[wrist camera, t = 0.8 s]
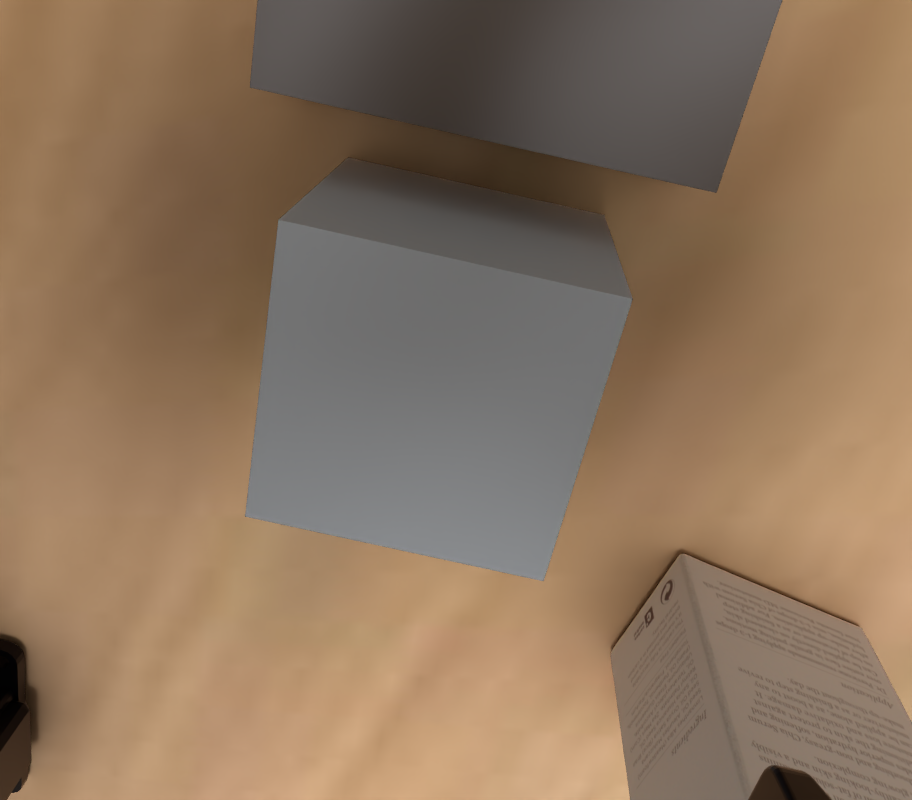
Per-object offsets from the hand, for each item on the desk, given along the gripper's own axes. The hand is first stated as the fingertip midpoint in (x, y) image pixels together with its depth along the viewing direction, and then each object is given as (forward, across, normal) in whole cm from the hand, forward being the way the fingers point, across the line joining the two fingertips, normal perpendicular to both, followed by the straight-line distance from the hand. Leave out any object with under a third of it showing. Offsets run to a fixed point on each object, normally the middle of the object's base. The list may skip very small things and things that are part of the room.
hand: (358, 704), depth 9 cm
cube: (+13, 0, 0) cm, 13 cm away
